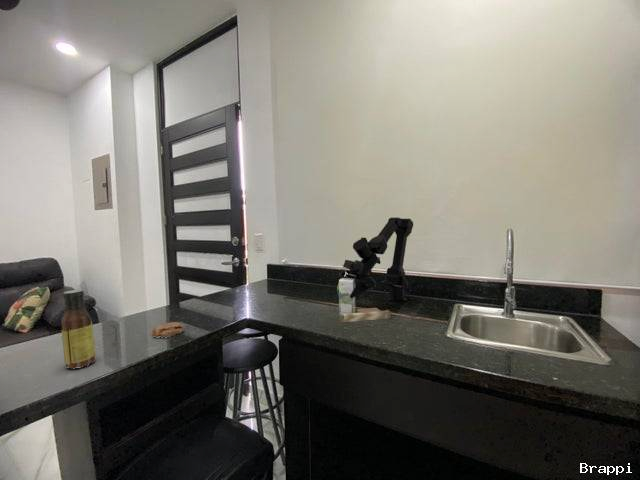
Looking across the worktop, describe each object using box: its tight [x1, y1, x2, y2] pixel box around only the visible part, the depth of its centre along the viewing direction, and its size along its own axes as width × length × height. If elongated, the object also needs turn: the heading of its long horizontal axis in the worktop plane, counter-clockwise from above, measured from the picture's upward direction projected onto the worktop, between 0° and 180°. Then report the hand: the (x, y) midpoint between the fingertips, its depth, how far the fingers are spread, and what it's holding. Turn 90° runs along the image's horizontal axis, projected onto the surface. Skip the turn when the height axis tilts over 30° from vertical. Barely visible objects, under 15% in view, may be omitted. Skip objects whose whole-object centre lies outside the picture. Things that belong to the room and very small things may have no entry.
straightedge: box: [338, 309, 391, 324], centre depth 110 cm, size 20×2×3 cm, turn 104°
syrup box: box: [338, 277, 356, 315], centre depth 114 cm, size 6×6×14 cm
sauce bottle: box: [60, 289, 96, 368], centre depth 75 cm, size 7×6×20 cm
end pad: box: [355, 307, 381, 313], centre depth 117 cm, size 9×9×1 cm
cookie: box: [151, 321, 185, 337], centre depth 98 cm, size 10×11×3 cm
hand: (344, 295), depth 114 cm, fingers closed on syrup box, 8 cm apart
